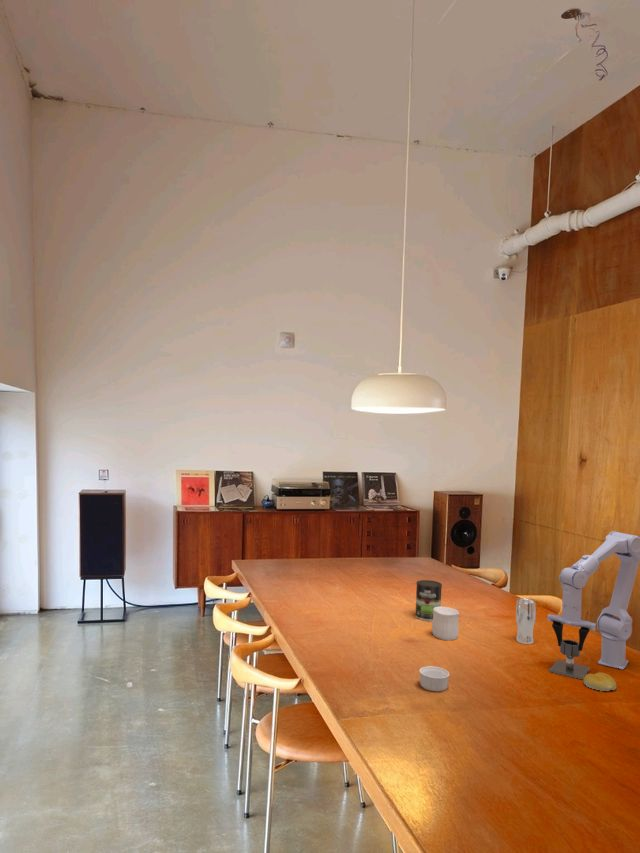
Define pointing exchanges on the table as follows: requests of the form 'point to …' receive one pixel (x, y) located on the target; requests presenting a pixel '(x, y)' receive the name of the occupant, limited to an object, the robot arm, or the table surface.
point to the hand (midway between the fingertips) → (570, 647)
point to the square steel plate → (569, 668)
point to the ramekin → (434, 678)
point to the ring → (570, 648)
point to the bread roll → (600, 681)
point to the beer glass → (525, 620)
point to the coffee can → (427, 599)
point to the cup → (445, 623)
